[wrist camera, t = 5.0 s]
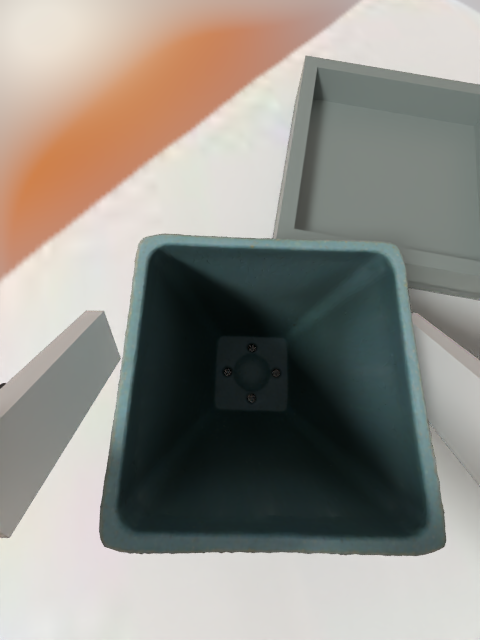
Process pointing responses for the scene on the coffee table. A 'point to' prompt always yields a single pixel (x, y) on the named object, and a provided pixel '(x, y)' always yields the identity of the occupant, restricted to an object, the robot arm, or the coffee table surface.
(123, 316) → the coffee table surface
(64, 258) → the coffee table surface
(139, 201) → the coffee table surface
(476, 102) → the tray
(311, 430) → the flower pot
